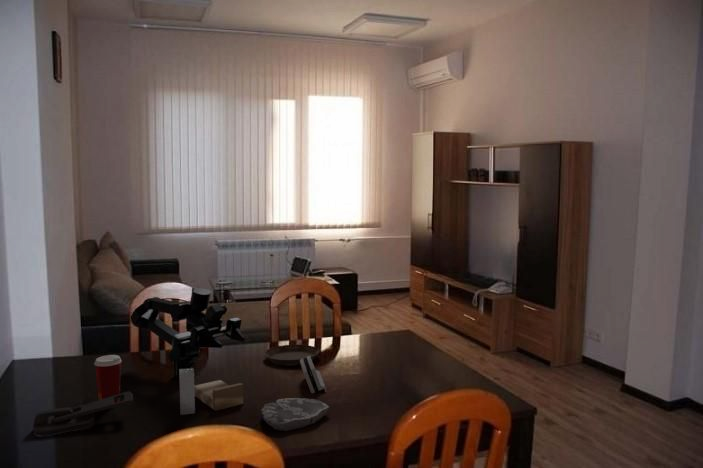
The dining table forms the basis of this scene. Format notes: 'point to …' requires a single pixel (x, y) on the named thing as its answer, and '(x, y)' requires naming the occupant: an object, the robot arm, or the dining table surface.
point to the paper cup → (108, 376)
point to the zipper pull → (74, 416)
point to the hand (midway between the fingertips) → (233, 343)
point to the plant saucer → (290, 354)
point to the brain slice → (293, 413)
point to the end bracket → (187, 391)
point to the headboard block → (219, 394)
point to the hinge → (315, 375)
